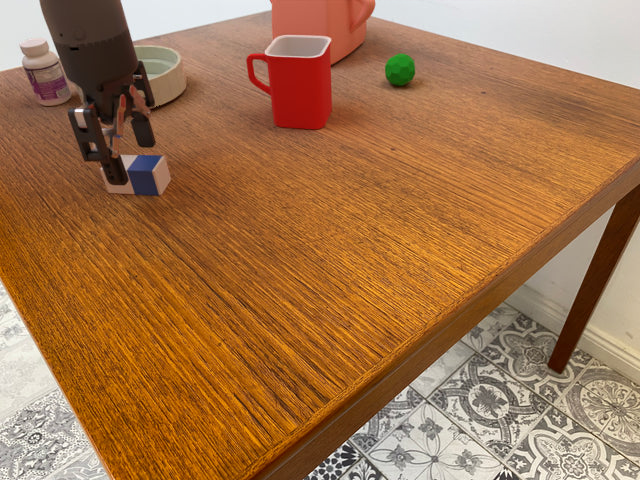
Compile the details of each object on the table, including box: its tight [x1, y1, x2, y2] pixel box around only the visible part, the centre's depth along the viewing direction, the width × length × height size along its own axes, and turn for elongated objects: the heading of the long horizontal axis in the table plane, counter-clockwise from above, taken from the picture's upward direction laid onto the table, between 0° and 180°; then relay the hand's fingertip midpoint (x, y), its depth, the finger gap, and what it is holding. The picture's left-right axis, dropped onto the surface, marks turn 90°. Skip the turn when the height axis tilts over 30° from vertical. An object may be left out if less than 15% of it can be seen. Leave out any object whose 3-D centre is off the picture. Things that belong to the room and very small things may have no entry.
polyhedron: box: [384, 52, 416, 87], centre depth 84 cm, size 5×5×5 cm
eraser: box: [99, 154, 172, 197], centre depth 64 cm, size 7×4×4 cm, turn 82°
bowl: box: [74, 44, 188, 110], centre depth 86 cm, size 17×17×5 cm
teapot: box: [269, 0, 376, 65], centre depth 96 cm, size 20×22×14 cm
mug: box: [245, 35, 333, 130], centre depth 75 cm, size 12×8×11 cm
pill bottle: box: [18, 37, 72, 107], centre depth 84 cm, size 5×5×10 cm
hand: (134, 164), depth 63 cm, fingers open, 8 cm apart
